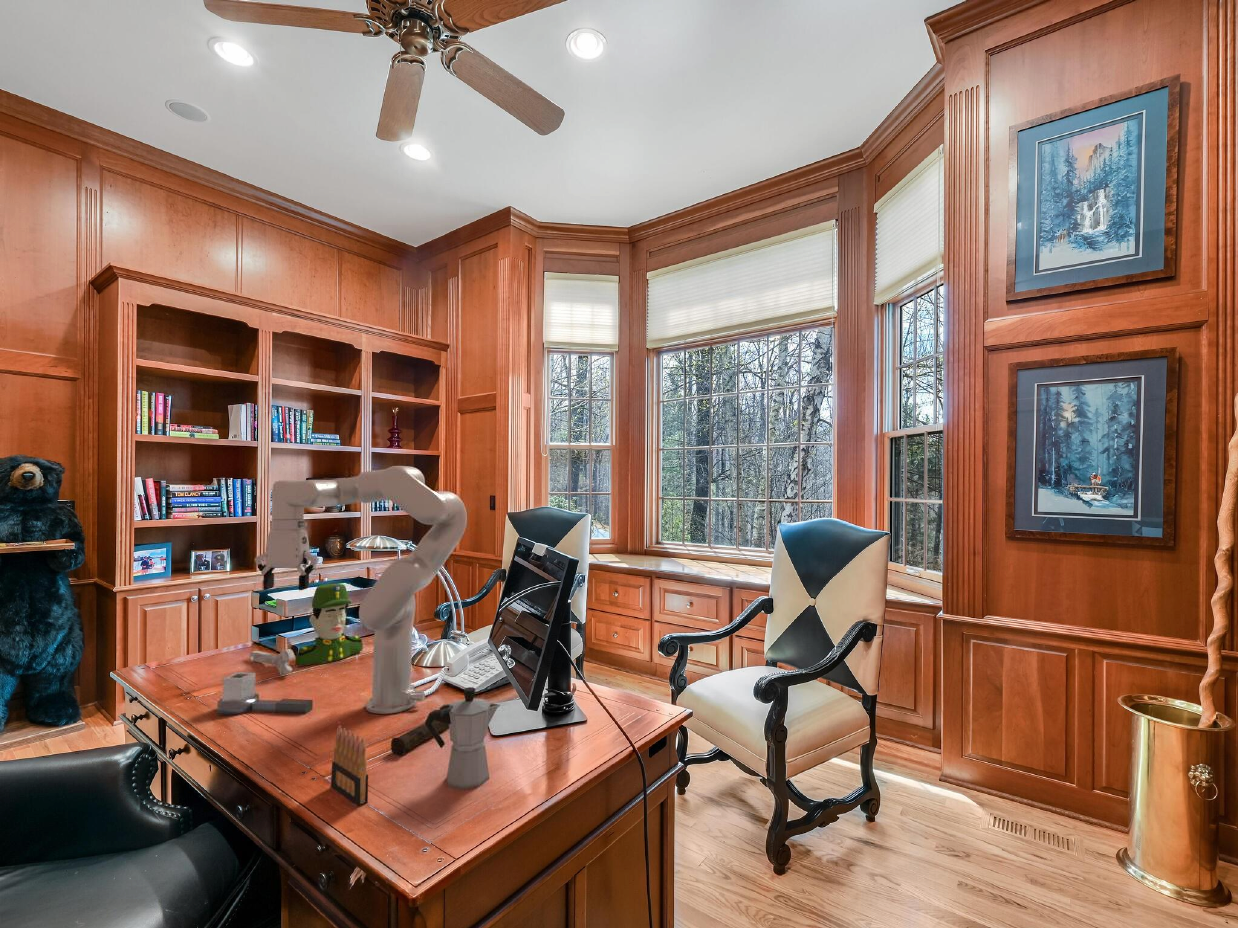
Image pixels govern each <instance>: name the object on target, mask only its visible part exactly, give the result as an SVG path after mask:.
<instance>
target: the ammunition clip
mask: <svg viewBox="0 0 1238 928" xmlns="http://www.w3.org/2000/svg"><path fill="white" fill-rule="evenodd" d="M333 750H334V751H333V760H332V761H331V774H330V775H331V777H330V788H331V789H332V790H334V791H335V792H337V793H338V794H339V795H341V796H342V797H344V798H345V799H346V800H348V801H349V802H351V804H354V805H355V806H356V807H361V806H362V805H365V804H367V803H368V802H369V801H368V800H369V774H367V768H368V767H367V765H368V764H367V763H368V762H367V760H368V759H367V752H366V751H367V750H366V740H365V739H364V738H363V737H362V738H360V736H359V735H356V734H355V733H354V732H352V733H351V730H350V729H348V730H346V728H345V727H343V728H342V726H341V725H340V724H339V725H338V727H337V729H336V733H335V745H334V748H333Z"/></svg>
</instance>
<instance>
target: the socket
mask: <svg viewBox="0 0 1238 928" xmlns="http://www.w3.org/2000/svg"><path fill="white" fill-rule="evenodd" d="M255 693H256V672H243V671H242V672H240V671H239V672H238V671H237V672H234V673H233V674H231V675H228V676H225V677H224V678H222V698H221V699H222V702H223V703H242V702H244V701H246V700H248V699H250V698H252V697H253V696H255Z"/></svg>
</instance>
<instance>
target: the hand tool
mask: <svg viewBox="0 0 1238 928" xmlns="http://www.w3.org/2000/svg"><path fill="white" fill-rule="evenodd" d="M432 725H433V726H434V728H435V729H436V730H437V732H438V733H440V734H442V733H445V732H447V731H449V724H447V723H443V722H439V721H433V722H432ZM431 737H433V736H432V734H431V733H430V731H429V729H428V728H427V726H426V725H425V722H424V723H422V724H421V725H419V726H417V727H416V728H415V727H414V728H413V729H410V730H409V731H407V732H405V733H403V734H401V735H399V736H396V737H392V738H391V741H390V747H391V748H390V751H391V752H392V754H393V755H396V756H401V757H402V756H403V755H405V753H408V752H409V751H410V750H411V749H413V748H414V747H415V746H417V745H419V744H420V743H422V742H424V741H426V740H428V739H429V738H431Z"/></svg>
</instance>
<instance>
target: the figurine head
mask: <svg viewBox="0 0 1238 928" xmlns="http://www.w3.org/2000/svg"><path fill="white" fill-rule="evenodd" d="M350 604H352V601H351V600H349V594H348V590H347V588H346V585H345V584H343V583H327V584H326V583H325V584H320V585H318V586H317V587H316V588H315V591H314V595H313V599H312V602H311V608H312V614H311V616H309V623H310V624H311V626H312V627H313V630H314V631H315V633H316V634H318V637H314V639H315V640H314V641H315V643H313V644H309V645H305V646H302V647H300V648H299V649H298V651H297V654H296V655H295V663H294V666H297V667H302V666H309V665H313V664H314V665H317V664H326V663H330V662H334V661H339V660H343V659H346V658H348V657H349V656H352V655H356V654H358V653H360V652H362V651H363V648H364V646H363V645H364V643H363V640H362V638H361V636H359V635H351V636H346V635H345V633H344V629H345V625H346V619H347V613H348V607H349V605H350Z"/></svg>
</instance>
